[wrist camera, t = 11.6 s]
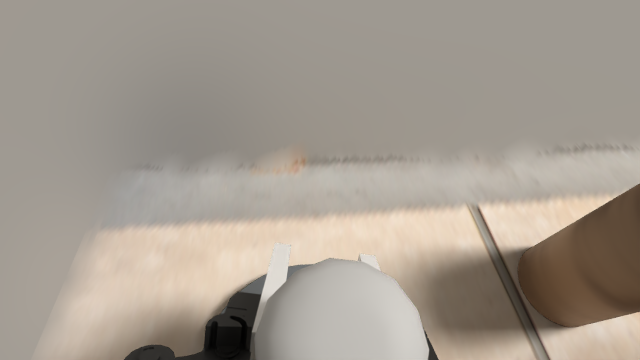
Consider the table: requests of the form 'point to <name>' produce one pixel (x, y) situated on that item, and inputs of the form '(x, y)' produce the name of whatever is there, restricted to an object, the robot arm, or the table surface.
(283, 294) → the salt shaker
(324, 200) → the table surface
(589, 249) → the walnut pepper mill
